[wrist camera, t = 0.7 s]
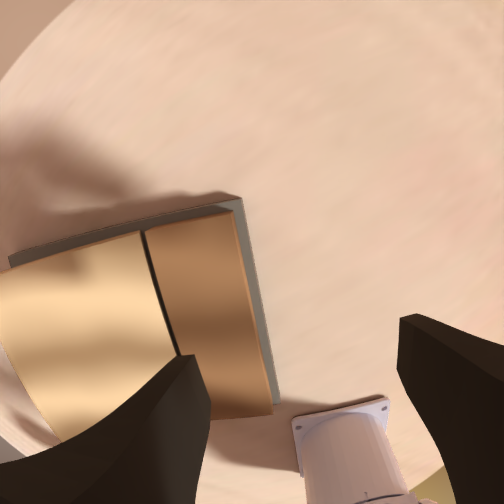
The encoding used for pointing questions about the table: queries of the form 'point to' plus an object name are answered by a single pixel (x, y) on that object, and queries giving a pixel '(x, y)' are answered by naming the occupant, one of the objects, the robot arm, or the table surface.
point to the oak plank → (84, 330)
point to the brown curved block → (213, 310)
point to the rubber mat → (145, 225)
